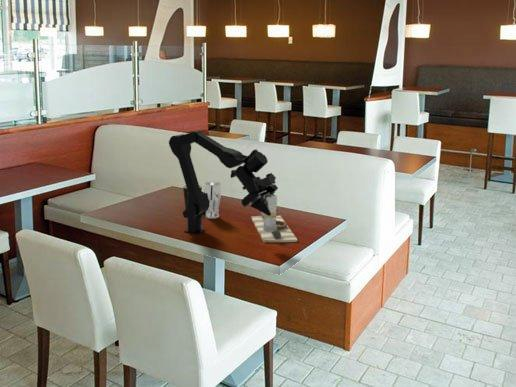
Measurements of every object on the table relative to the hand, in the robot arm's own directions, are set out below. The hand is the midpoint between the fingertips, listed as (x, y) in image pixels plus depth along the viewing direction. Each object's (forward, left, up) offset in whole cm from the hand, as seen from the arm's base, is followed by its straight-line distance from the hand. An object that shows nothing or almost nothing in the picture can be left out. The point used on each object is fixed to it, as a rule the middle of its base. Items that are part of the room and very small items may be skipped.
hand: (273, 213), depth 212 cm
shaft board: (+22, +5, -13) cm, 26 cm away
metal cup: (0, +1, -7) cm, 7 cm away
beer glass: (+29, +34, -14) cm, 47 cm away
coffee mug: (+38, +48, -14) cm, 63 cm away
